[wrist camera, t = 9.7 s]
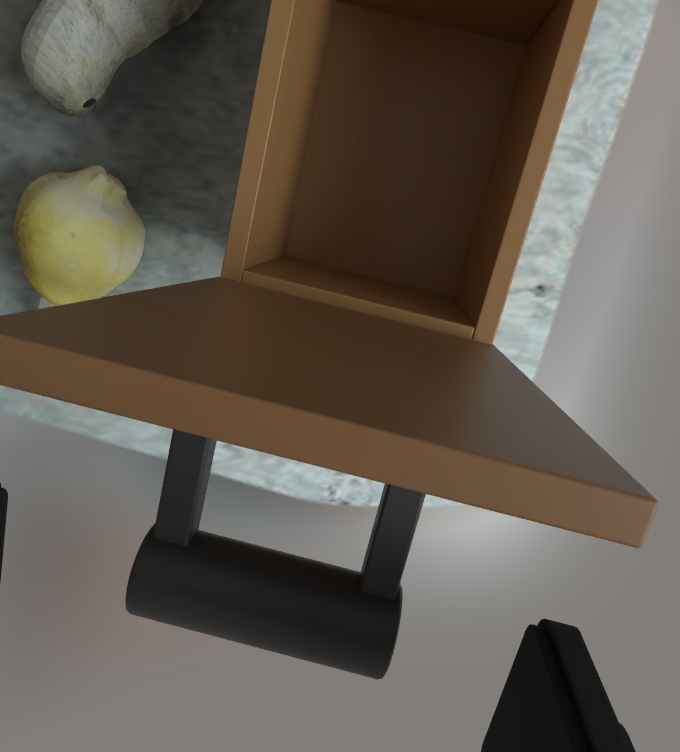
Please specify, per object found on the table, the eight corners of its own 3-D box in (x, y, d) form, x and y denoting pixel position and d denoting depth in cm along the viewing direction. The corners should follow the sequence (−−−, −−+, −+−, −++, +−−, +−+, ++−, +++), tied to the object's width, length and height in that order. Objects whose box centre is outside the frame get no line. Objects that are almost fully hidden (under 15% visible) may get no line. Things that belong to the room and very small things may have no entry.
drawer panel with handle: (-46, 321, 9) (-79, 636, 10) (662, 501, 9) (546, 804, 10) (217, 276, 23) (190, 411, 24) (495, 345, 23) (454, 479, 24)
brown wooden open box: (326, -15, 30) (293, -124, 20) (544, 36, 29) (614, -50, 20) (269, 266, 33) (218, 285, 24) (463, 314, 33) (490, 353, 23)
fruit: (6, 297, 35) (55, 127, 31) (112, 337, 37) (172, 181, 33) (-37, 343, 30) (15, 147, 26) (89, 387, 32) (155, 210, 28)
